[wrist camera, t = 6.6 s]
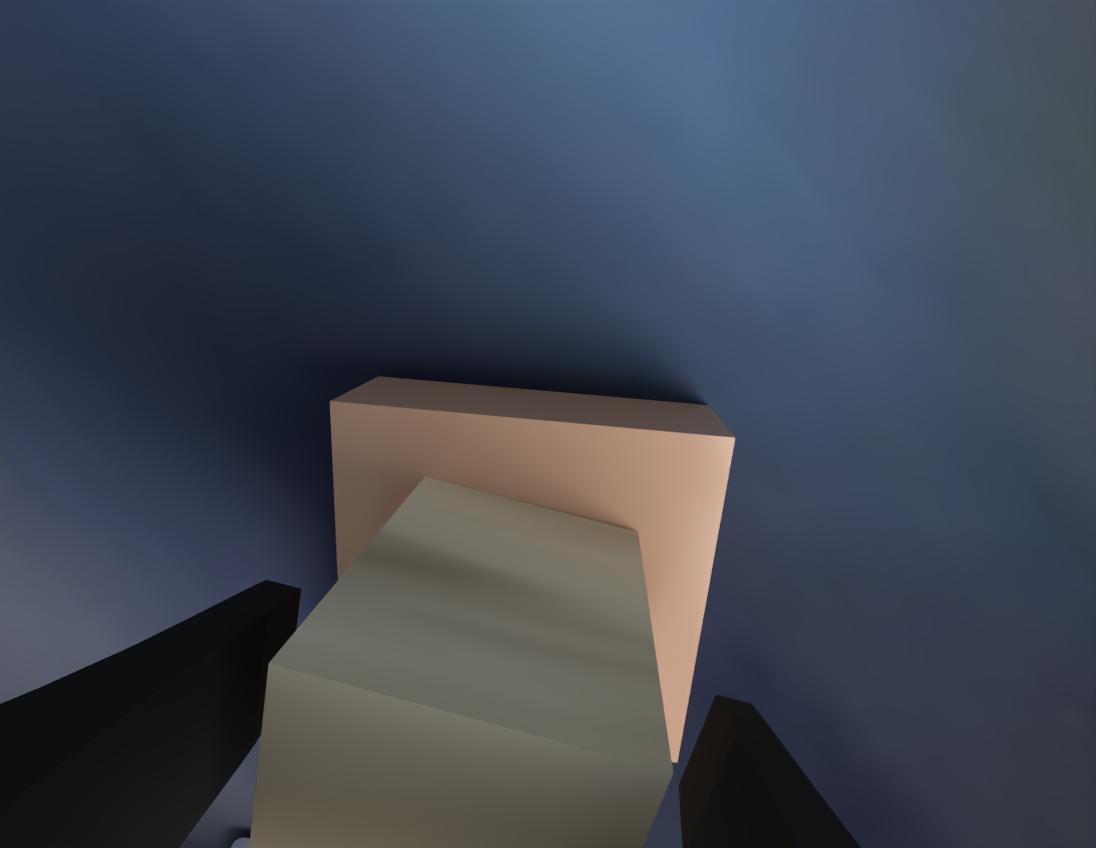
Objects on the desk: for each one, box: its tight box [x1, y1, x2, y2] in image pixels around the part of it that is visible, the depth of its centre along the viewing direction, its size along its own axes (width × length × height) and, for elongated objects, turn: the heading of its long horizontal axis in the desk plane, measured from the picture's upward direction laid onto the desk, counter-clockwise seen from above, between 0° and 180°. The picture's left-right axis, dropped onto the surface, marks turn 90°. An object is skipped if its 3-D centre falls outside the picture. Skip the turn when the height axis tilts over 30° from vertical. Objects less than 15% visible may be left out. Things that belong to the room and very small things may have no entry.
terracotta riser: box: [330, 376, 735, 762], centre depth 13 cm, size 8×8×3 cm
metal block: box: [249, 476, 673, 848], centre depth 9 cm, size 4×4×6 cm
